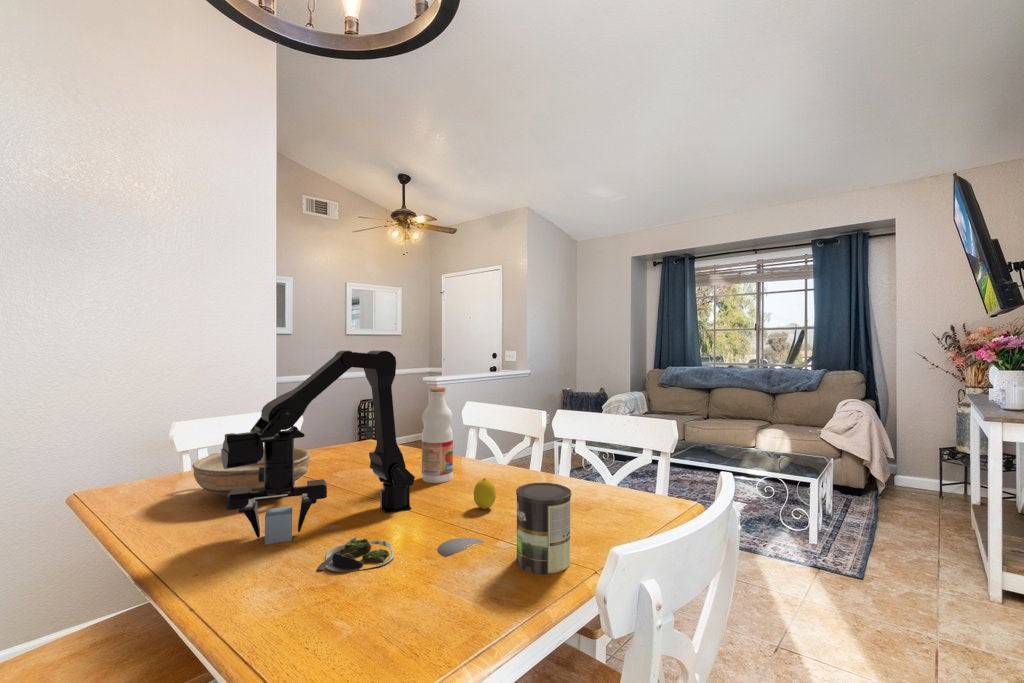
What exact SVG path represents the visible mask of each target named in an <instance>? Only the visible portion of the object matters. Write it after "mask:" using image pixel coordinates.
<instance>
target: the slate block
mask: <svg viewBox="0 0 1024 683" xmlns="http://www.w3.org/2000/svg"><path fill="white" fill-rule="evenodd" d="M292 540H293V506H292V505H291V506H282V507H274V508H273V507H272V508H267V509H266V511H265V515H264V545H269V544H277V543H283V542H291V541H292Z"/></svg>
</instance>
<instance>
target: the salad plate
mask: <svg viewBox="0 0 1024 683" xmlns="http://www.w3.org/2000/svg"><path fill="white" fill-rule="evenodd" d="M373 545H380V546H383V547H386V548H388V549H389V550H390V552H389V551H388V550H387V549H383V548H382V549H373V550H372V551H371V549H372V547H373ZM325 555H326V556H325V560H323V561H322V563H320V564H319V565H318V567H317V569H318V571H320V570H321V571H326V572H329V573H334V574H346V573H348V574H349V573H353V572H355V573H356V572H360V571H361V572H362V571H370V570H374V569H379V568H383V567H385V566H387V565H389V564H391V562H393V560H394V559H395V554H394V550H393V546H392V544H391V543H390V542H388V541H386V540H371V541H369V539H367V538H362V539H359V538H358V537H352V538H351V539H349V540H348V541H347V542H346V543H345V544H342V545H338V546H335V547H333V548H331V549H329V550H328V551H327V552H326V554H325ZM361 556H362V558H361V559H360V560H357V558H359V557H361ZM387 558H388V559H387ZM386 559H387V560H386ZM369 563H380V564H378V565H375V566H372V567H368V568H363V566H364V565H366V564H369Z"/></svg>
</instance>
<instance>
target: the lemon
mask: <svg viewBox="0 0 1024 683" xmlns="http://www.w3.org/2000/svg"><path fill="white" fill-rule="evenodd" d="M496 494H497V490H496V488H495V485H494V483H493V482H492V481H491V480H489V479H487V478H486V477H484V478H482V479H481V480H479V481H477V483H476V484H475V486H474V489H473V500H474V503H475V504H476V506H477V507H478V508H480V509H482V510H488V509H489V508H491V507H492V506H493V505H494V503H495V501H496V499H497V498H496V497H497V495H496Z"/></svg>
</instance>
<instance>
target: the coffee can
mask: <svg viewBox="0 0 1024 683" xmlns="http://www.w3.org/2000/svg"><path fill="white" fill-rule="evenodd" d="M515 494H516V565H517V566H518V567H519V568H520V569H521V570H523V571H525V570H526V571H525V572H527V571H528V573H530V572H532V573H531V574H535V573H536V574H537V573H538V574H537V575H553V574H552V573H555V574H558V573H557V572H559V573H562V572H564V571H565V570H567V569H568V568H570V566H571V505H572V504H571V499H572V498H571V497H572V490H571V489H570V488H569V487H567V486H565V485H563V484H558V483H552V482H531V483H526V484H523V485H521V486H519V487H517V488H516V489H515ZM563 570H564V571H563ZM561 571H562V572H561Z"/></svg>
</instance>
